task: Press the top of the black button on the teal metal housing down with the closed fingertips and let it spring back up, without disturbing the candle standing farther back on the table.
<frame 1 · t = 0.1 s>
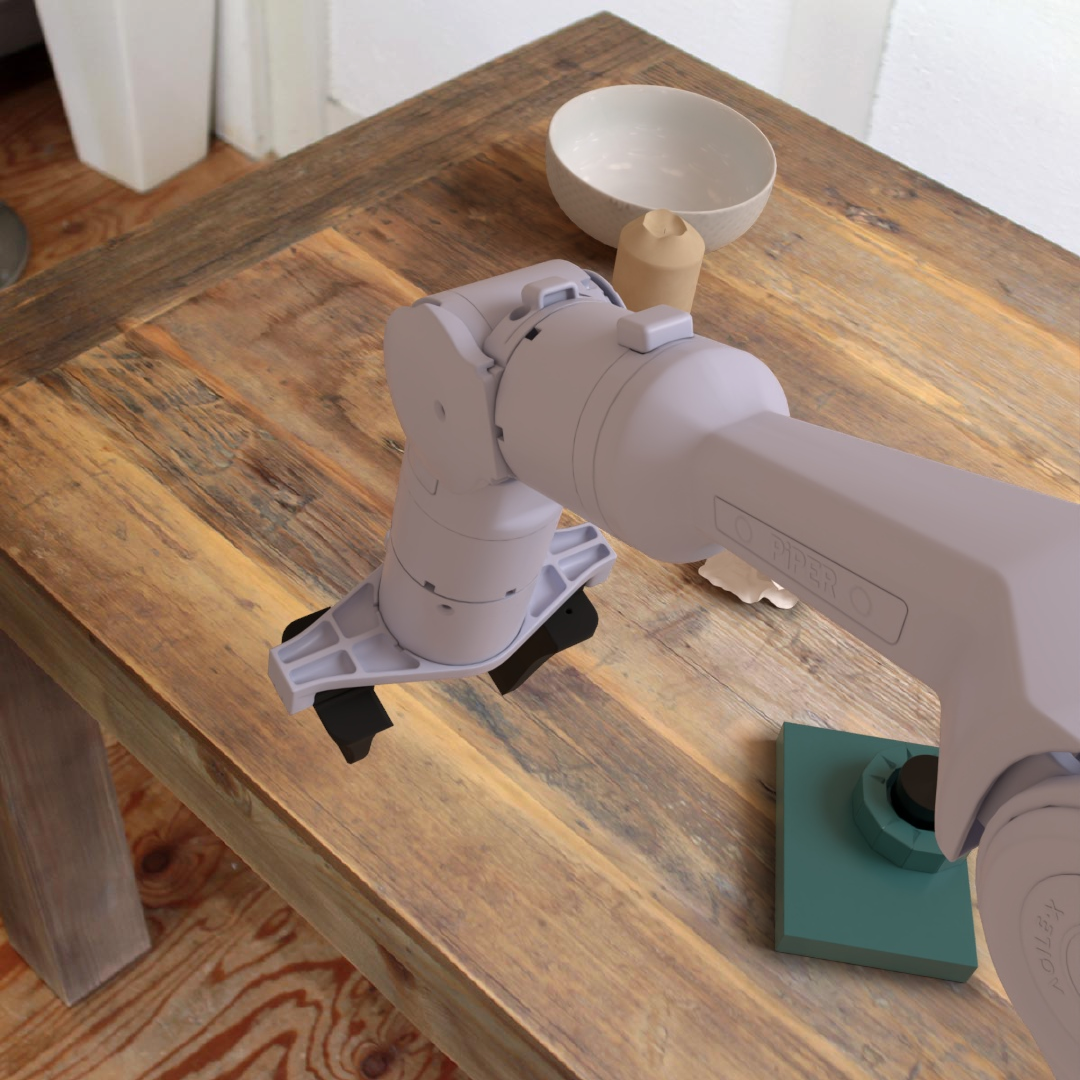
hand: (423, 708, 59), 8 cm above the table, tool pointing down, fingers open, 7 cm apart
candle: (640, 347, 92), on the table
button: (928, 791, 64), point 4 cm above the table, slide at 0.1 cm
housing: (865, 853, 66), on the table
cereal bowl: (646, 227, 102), on the table
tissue: (734, 567, 79), on the table
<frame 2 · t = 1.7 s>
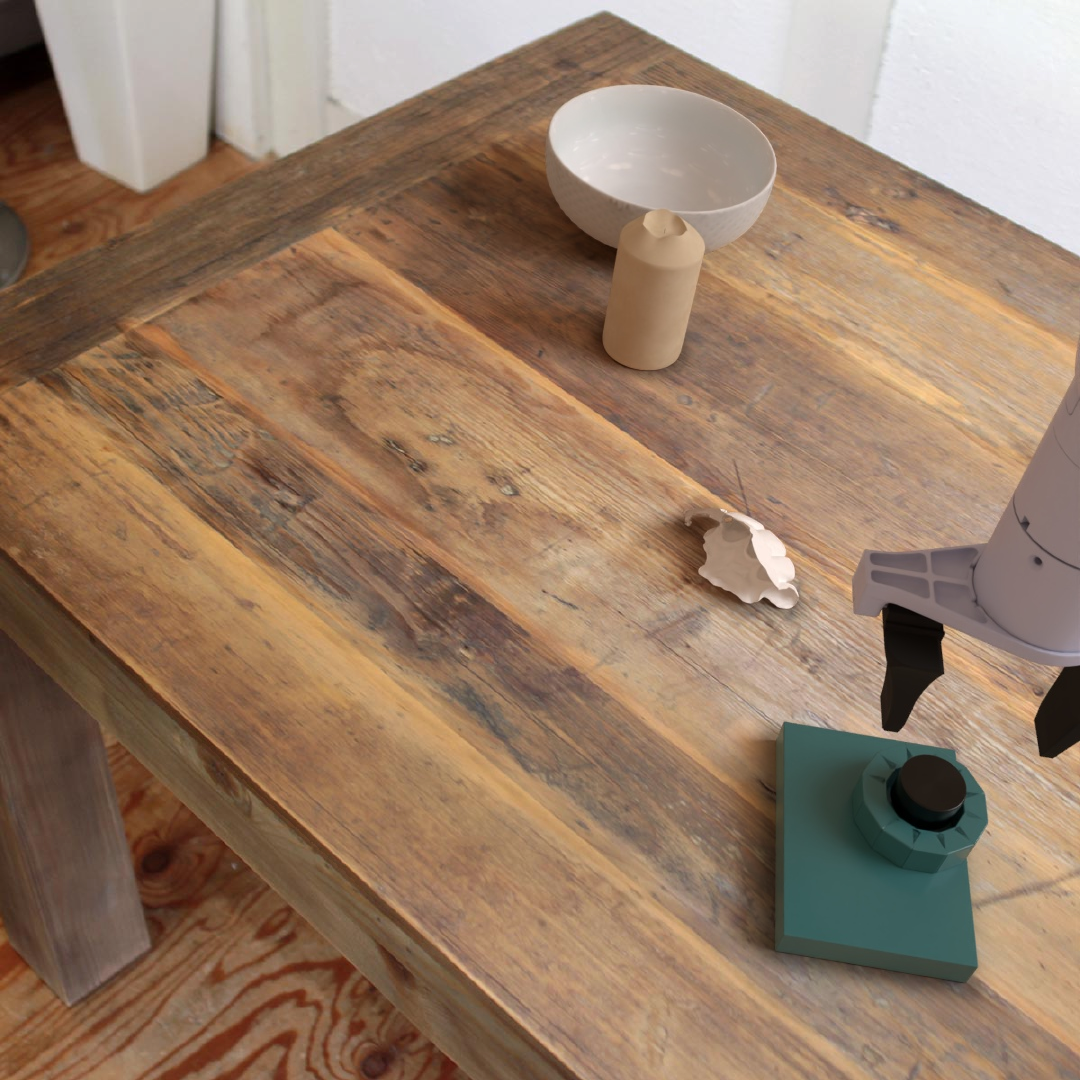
hand: (966, 726, 60), 9 cm above the table, tool pointing down, fingers open, 6 cm apart
nothing on the table moved.
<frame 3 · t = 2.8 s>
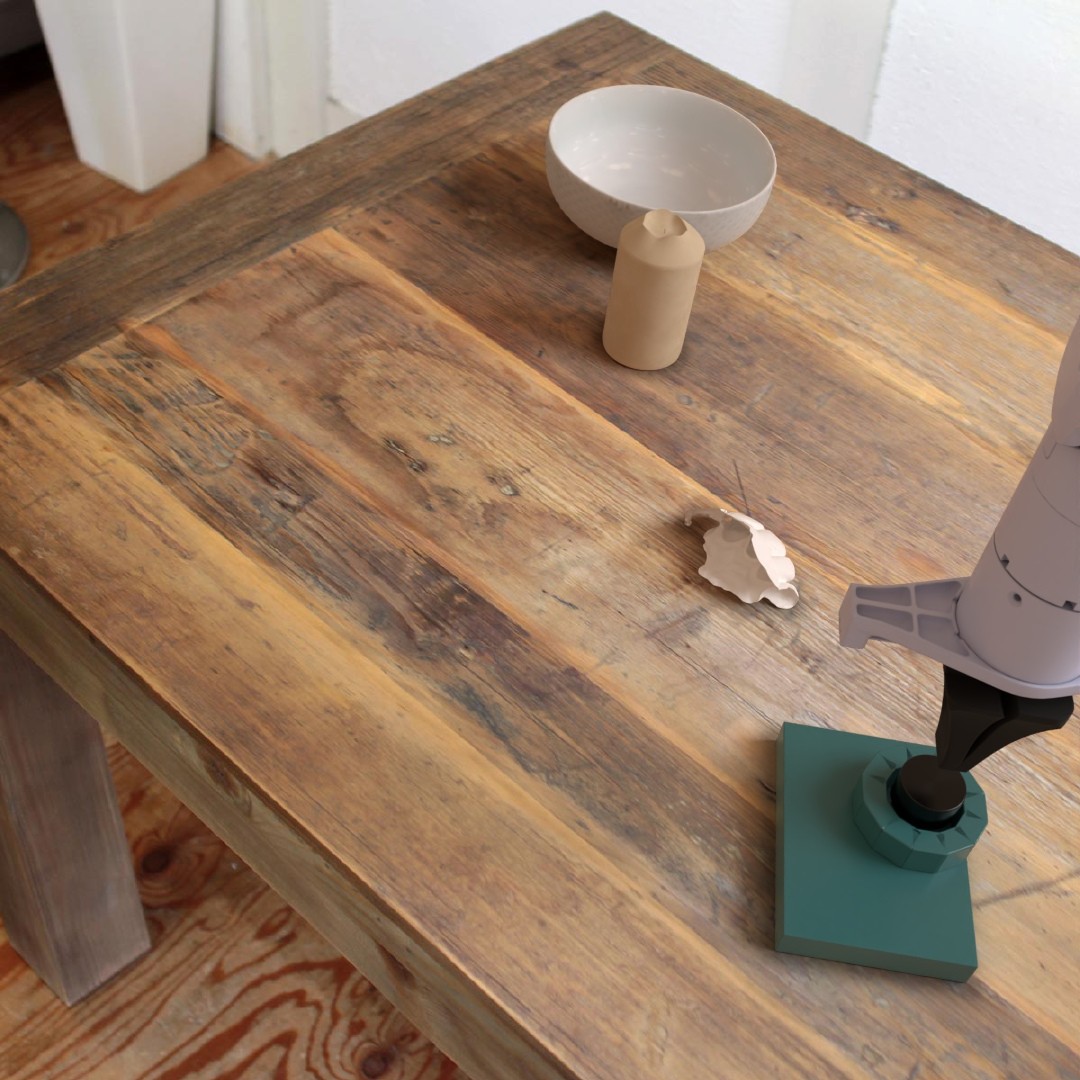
hand: (951, 752, 62), 7 cm above the table, tool pointing down, fingers closed
nothing on the table moved.
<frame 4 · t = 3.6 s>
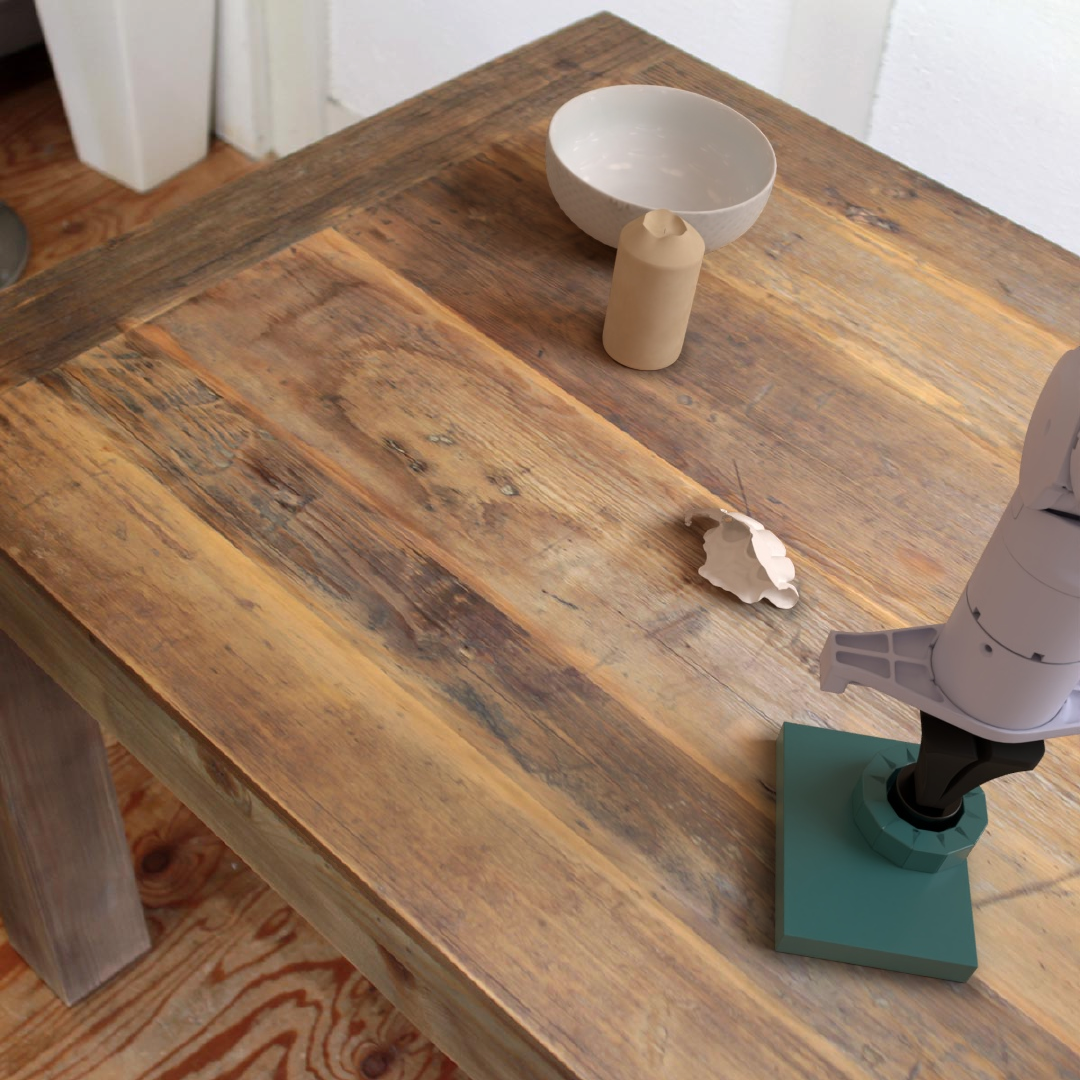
hand: (929, 789, 64), 4 cm above the table, tool pointing down, fingers closed, pressing on button
button: (923, 799, 65), point 3 cm above the table, slide at -0.6 cm, touching gripper
everything else where it was.
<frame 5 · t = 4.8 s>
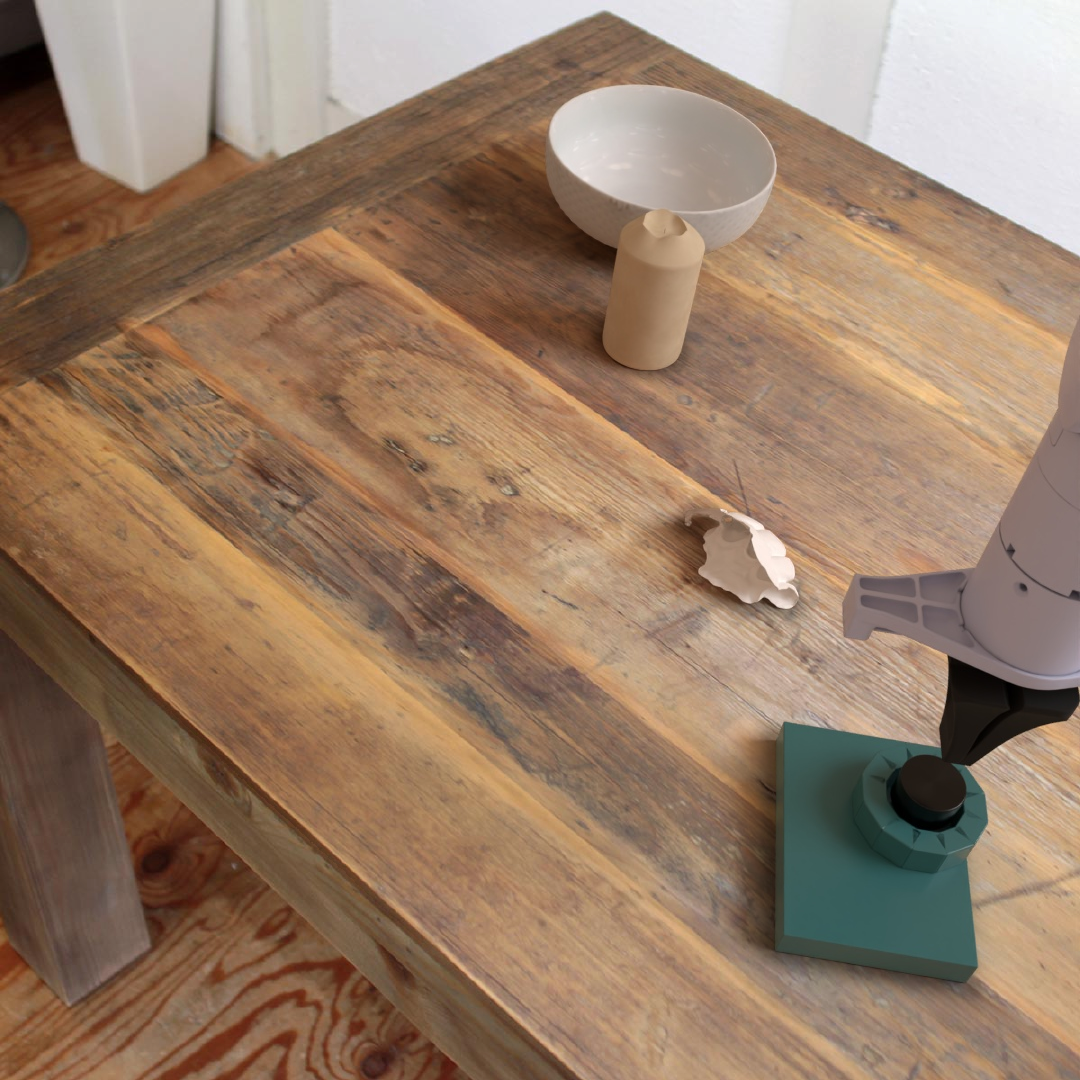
hand: (955, 746, 61), 8 cm above the table, tool pointing down, fingers closed
button: (928, 791, 64), point 4 cm above the table, slide at 0.1 cm
everything else where it was.
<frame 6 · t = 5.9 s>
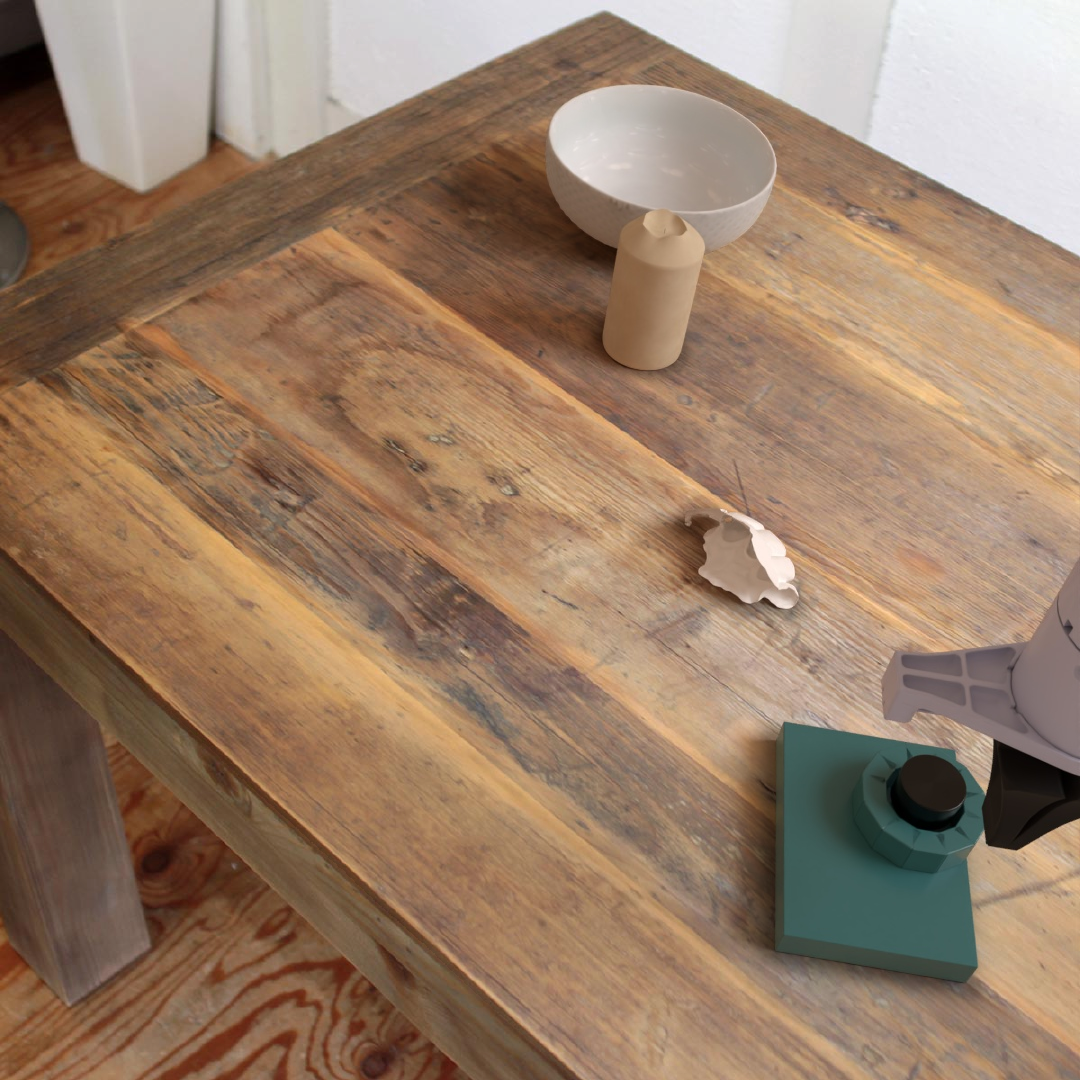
hand: (999, 828, 57), 9 cm above the table, tool pointing down, fingers closed
nothing on the table moved.
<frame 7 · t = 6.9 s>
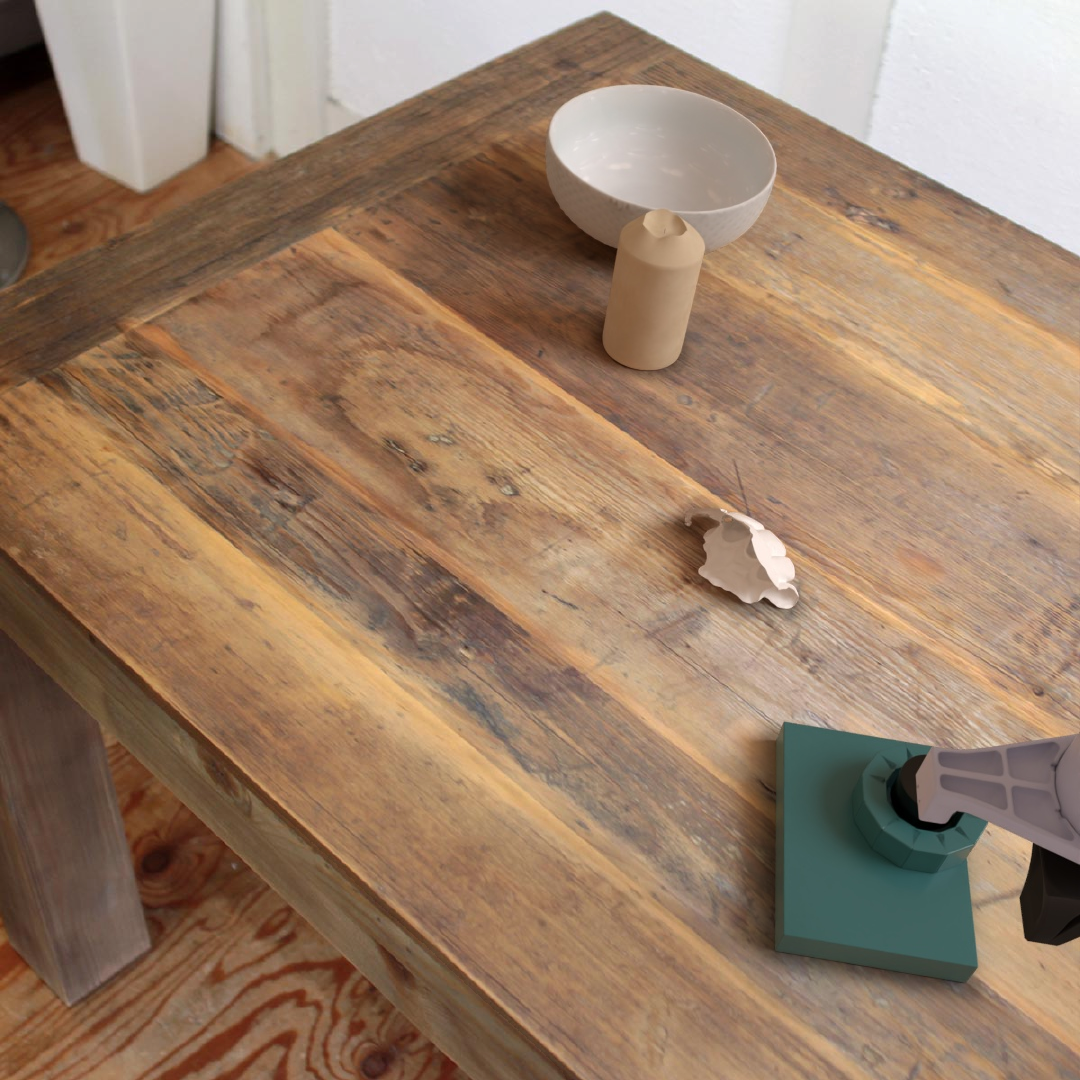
hand: (1038, 920, 54), 9 cm above the table, tool pointing down, fingers closed
nothing on the table moved.
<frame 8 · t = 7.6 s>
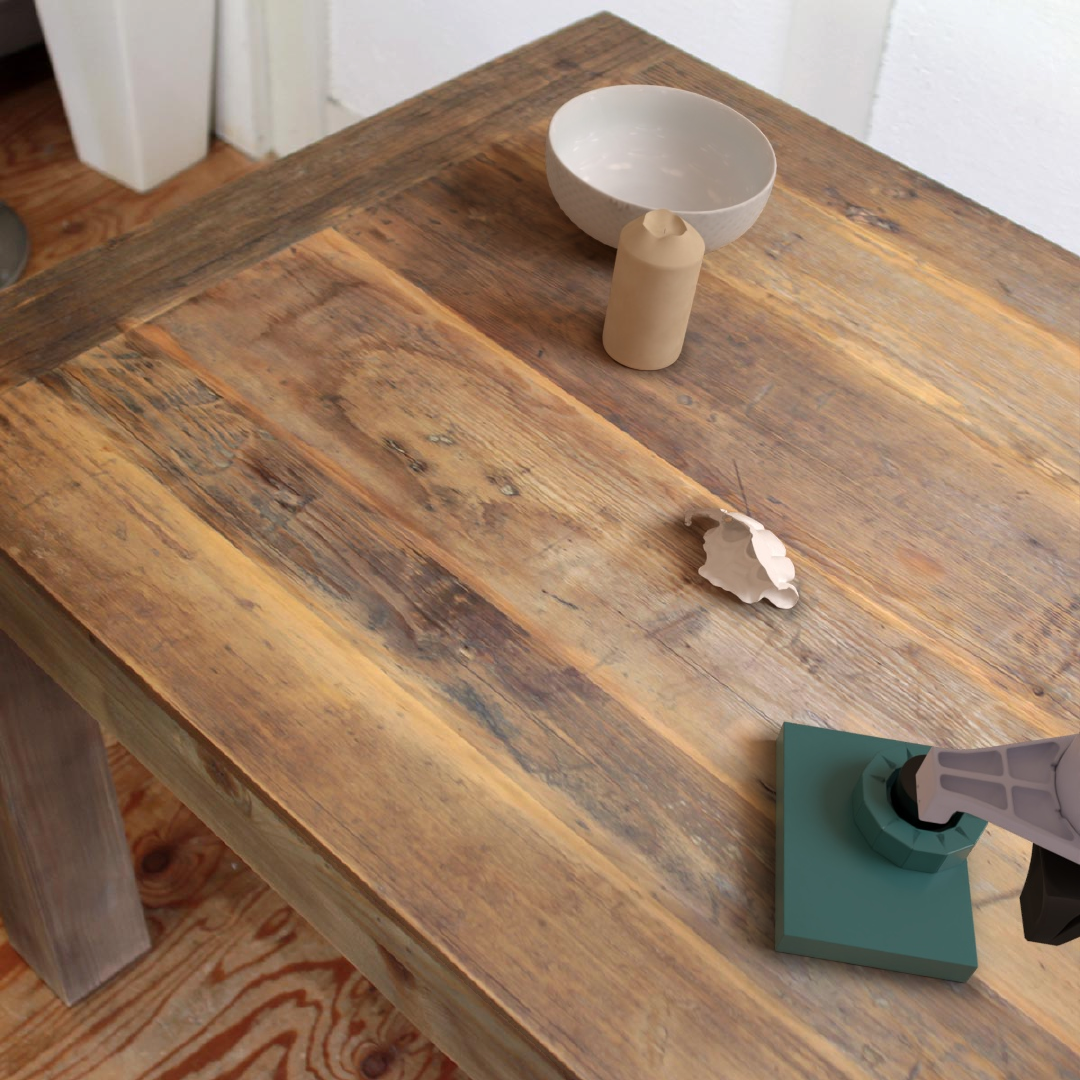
hand: (1038, 920, 54), 9 cm above the table, tool pointing down, fingers closed
nothing on the table moved.
at the end: button pushed in 1.2 cm at the most during the clip, back to where it started at the end; button slide at 0.1 cm; candle moved 0.2 cm from its start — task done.
